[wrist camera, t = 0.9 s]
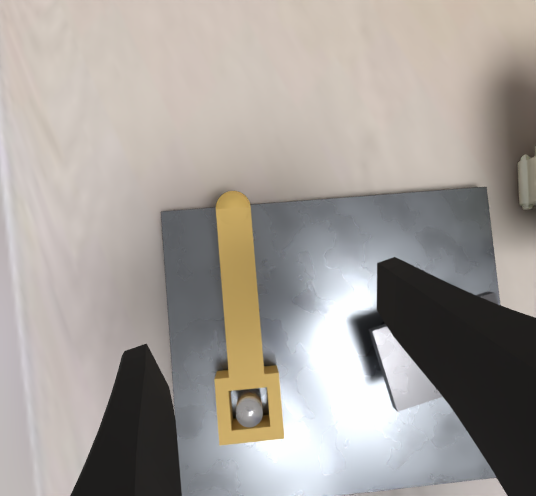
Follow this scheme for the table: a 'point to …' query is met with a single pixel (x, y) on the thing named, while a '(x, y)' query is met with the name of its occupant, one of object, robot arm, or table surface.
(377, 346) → the keeper
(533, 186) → the pneumatic valve
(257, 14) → the table surface
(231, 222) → the lever
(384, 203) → the base
